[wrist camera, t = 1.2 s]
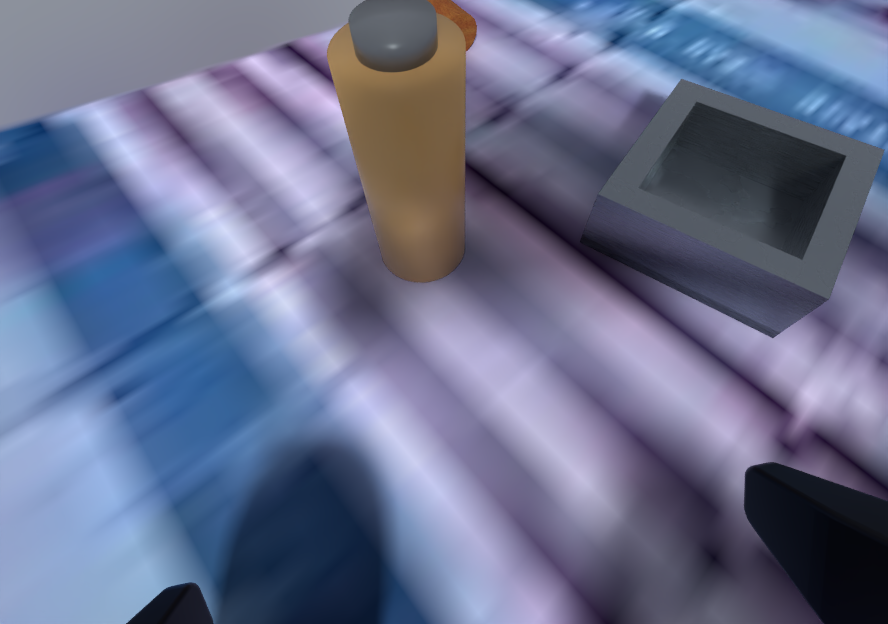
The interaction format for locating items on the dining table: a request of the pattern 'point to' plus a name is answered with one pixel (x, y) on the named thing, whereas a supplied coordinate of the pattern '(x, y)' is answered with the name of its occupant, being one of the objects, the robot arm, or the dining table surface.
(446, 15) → the kendama
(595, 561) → the dining table surface
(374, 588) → the dining table surface
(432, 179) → the tan cylinder
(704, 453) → the dining table surface
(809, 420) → the dining table surface
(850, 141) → the gray square dish
